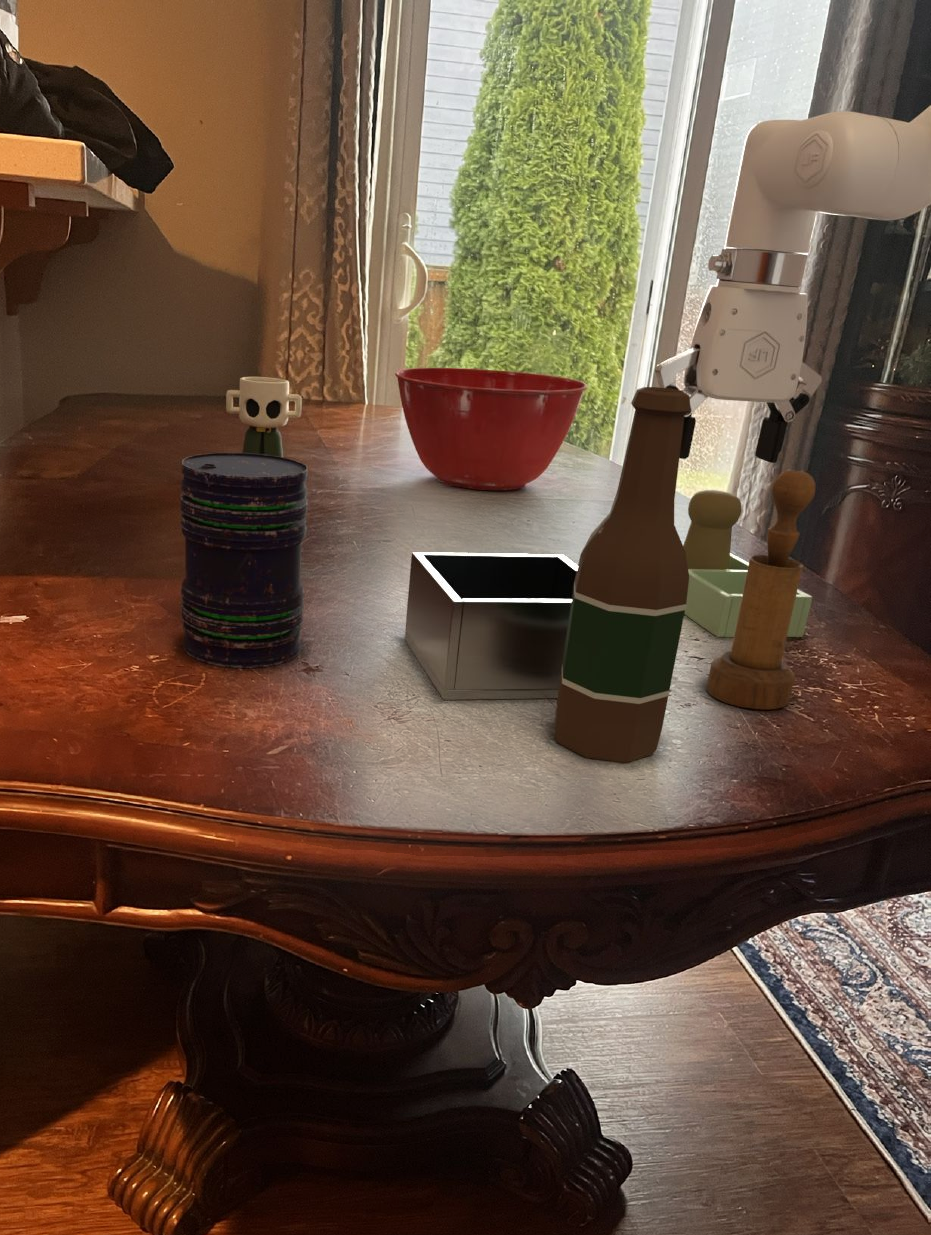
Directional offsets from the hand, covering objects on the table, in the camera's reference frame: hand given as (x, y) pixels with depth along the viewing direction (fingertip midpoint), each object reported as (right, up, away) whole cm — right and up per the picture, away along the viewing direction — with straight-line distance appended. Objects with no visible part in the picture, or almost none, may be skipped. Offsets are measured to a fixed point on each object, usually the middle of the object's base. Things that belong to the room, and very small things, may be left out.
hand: (722, 458), depth 105 cm
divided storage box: (0, -15, +2) cm, 15 cm away
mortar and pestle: (-4, -25, -20) cm, 32 cm away
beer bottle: (-18, -28, -31) cm, 45 cm away
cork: (-1, -13, +6) cm, 15 cm away
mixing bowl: (-19, +10, +55) cm, 60 cm away
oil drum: (-46, -20, -18) cm, 53 cm away
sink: (-24, -22, -18) cm, 37 cm away
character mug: (-52, +11, +51) cm, 74 cm away
